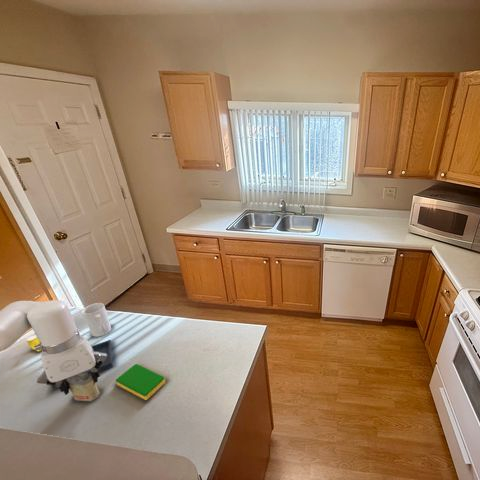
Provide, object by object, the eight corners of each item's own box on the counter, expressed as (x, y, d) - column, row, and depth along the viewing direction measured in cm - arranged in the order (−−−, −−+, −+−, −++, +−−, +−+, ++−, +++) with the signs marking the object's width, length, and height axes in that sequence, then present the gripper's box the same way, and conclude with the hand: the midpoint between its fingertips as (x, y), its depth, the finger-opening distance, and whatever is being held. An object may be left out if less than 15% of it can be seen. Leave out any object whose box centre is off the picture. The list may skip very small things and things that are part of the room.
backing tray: (53, 390, 82) (51, 385, 81) (58, 362, 91) (56, 358, 90) (112, 366, 91) (111, 362, 90) (111, 343, 100) (110, 339, 99)
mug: (89, 331, 105) (79, 308, 100) (109, 323, 110) (101, 300, 105) (96, 344, 99) (86, 320, 94) (117, 334, 104) (109, 311, 99)
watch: (48, 349, 96) (42, 337, 94) (39, 354, 94) (33, 342, 91) (37, 344, 98) (31, 333, 95) (28, 350, 95) (21, 338, 93)
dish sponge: (146, 400, 80) (144, 395, 79) (116, 384, 85) (114, 379, 84) (166, 382, 86) (164, 377, 85) (137, 368, 91) (136, 363, 90)
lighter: (71, 400, 79) (59, 378, 75) (82, 389, 83) (72, 367, 79) (93, 402, 79) (83, 379, 75) (103, 390, 83) (94, 368, 79)
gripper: (13, 365, 64) (40, 411, 71) (101, 336, 74) (117, 379, 81) (20, 346, 69) (45, 390, 76) (101, 321, 79) (116, 362, 87)
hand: (82, 384), depth 79 cm, fingers closed on lighter, 6 cm apart
